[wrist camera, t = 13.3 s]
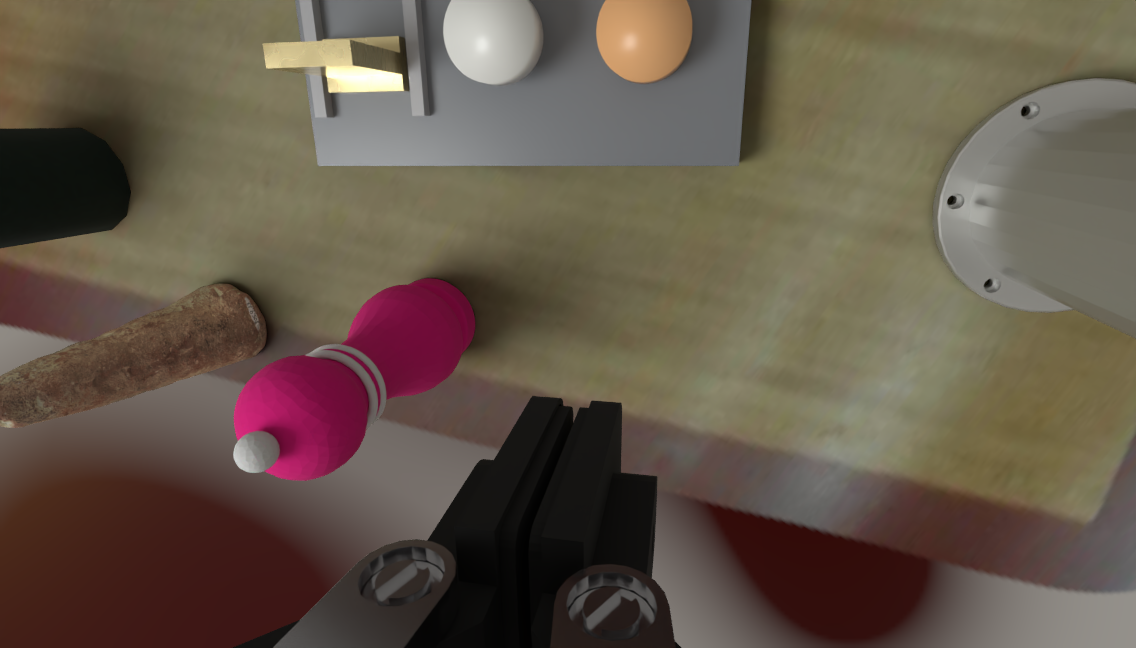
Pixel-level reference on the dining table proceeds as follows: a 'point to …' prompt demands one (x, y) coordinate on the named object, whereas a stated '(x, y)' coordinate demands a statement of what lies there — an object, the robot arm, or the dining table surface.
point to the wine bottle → (58, 185)
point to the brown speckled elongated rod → (136, 357)
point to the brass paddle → (346, 62)
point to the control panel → (531, 94)
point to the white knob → (493, 39)
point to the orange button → (644, 37)
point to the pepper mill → (350, 381)
